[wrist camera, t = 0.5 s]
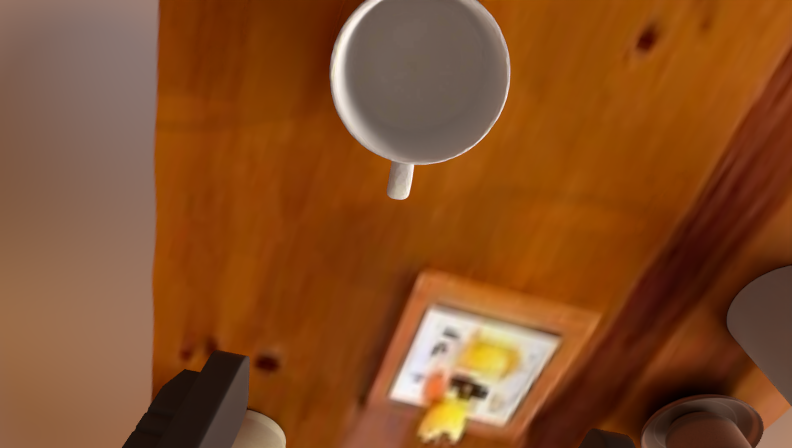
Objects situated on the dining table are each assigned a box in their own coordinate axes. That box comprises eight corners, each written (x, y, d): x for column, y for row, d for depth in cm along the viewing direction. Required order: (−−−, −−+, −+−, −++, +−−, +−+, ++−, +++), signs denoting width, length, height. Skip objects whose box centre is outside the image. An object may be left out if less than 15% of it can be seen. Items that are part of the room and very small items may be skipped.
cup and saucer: (778, 405, 48) (822, 459, 43) (700, 469, 54) (730, 523, 48) (682, 368, 47) (715, 419, 41) (612, 437, 52) (633, 490, 47)
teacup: (376, -46, 31) (361, -53, 24) (520, 15, 32) (546, 26, 25) (321, 138, 38) (296, 175, 31) (443, 184, 39) (446, 229, 32)
